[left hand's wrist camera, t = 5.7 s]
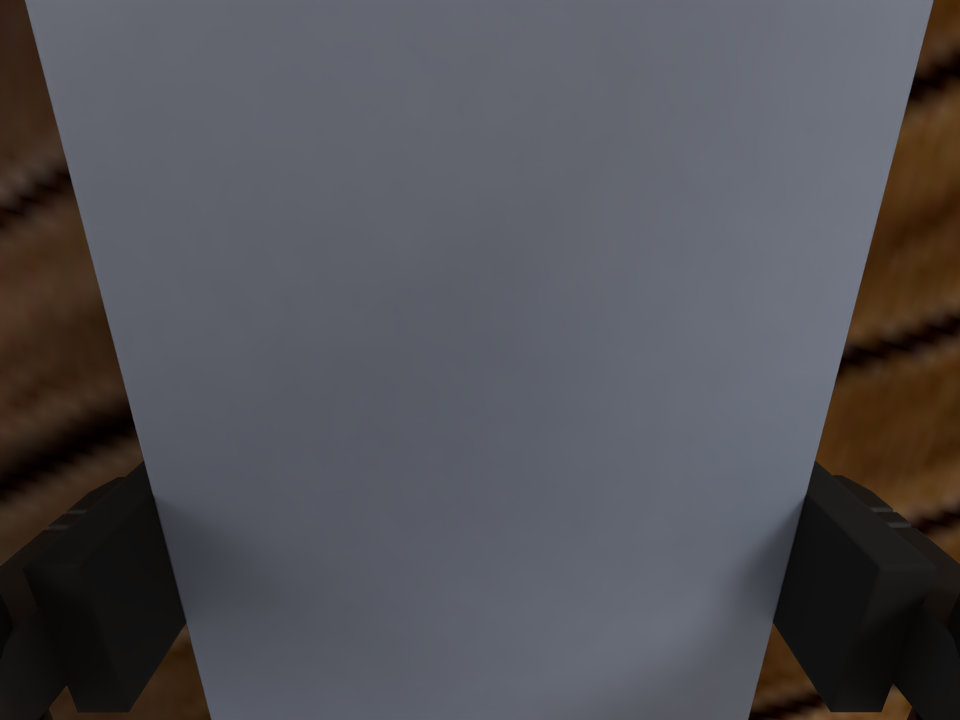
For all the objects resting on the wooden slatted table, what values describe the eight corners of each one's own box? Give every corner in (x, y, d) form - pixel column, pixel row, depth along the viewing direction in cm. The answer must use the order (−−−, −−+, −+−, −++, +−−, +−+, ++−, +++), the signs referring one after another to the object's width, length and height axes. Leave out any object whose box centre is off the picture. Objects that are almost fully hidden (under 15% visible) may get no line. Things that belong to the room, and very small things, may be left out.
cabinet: (293, -87, 15) (-163, -713, 4) (665, -86, 15) (1119, -708, 4) (347, 444, 21) (211, 727, 10) (611, 444, 21) (747, 726, 10)
